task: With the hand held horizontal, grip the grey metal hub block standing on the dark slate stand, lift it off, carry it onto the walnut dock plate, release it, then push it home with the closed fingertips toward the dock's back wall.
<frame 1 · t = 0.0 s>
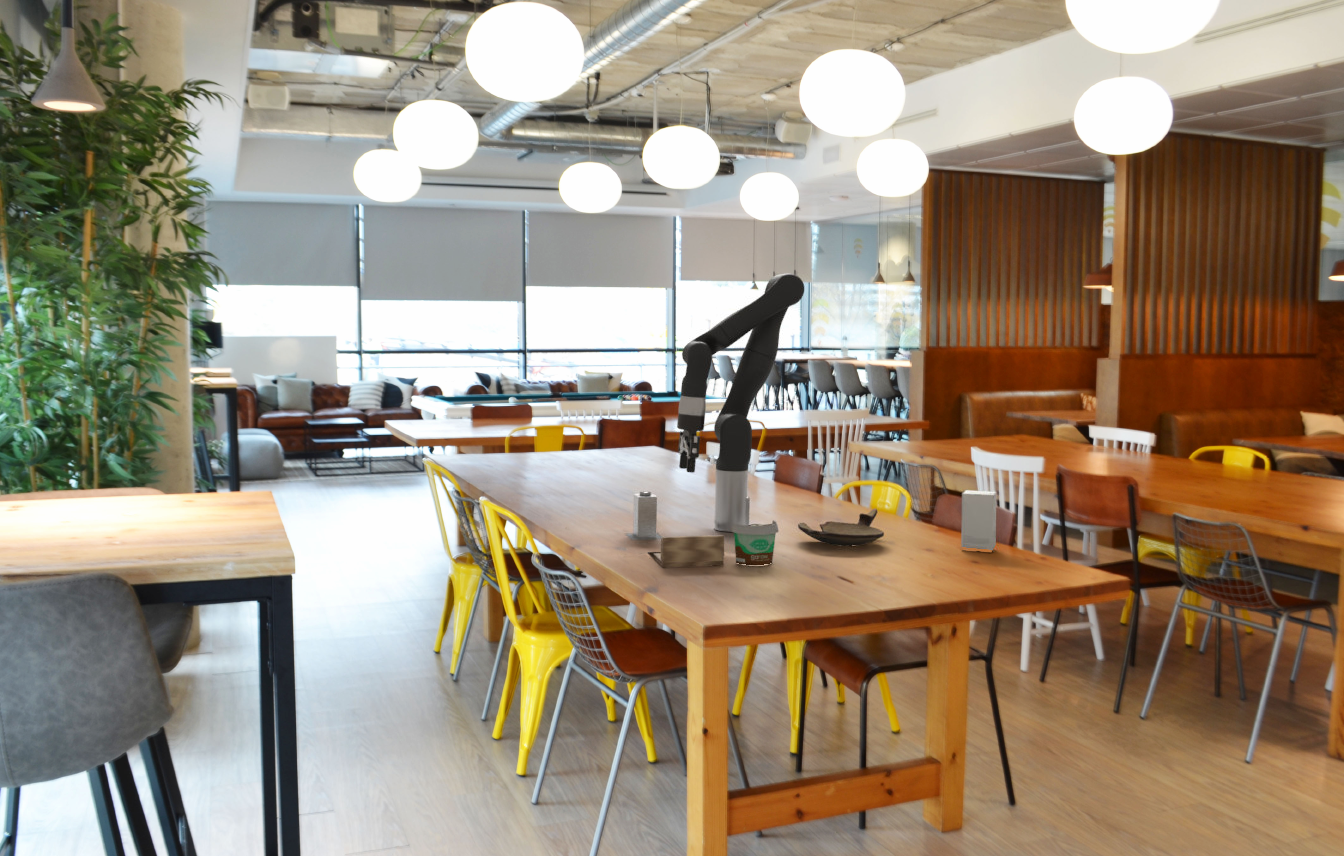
hand: (686, 470, 294), 17 cm above the table, tool pointing down, fingers open, 8 cm apart
food container: (759, 565, 254), on the table
skincare box: (977, 551, 276), on the table
stand: (644, 541, 279), on the table
hub block: (644, 536, 279), point 1 cm above the table, touching stand
dock: (683, 558, 260), on the table
oil lamp: (848, 544, 282), on the table
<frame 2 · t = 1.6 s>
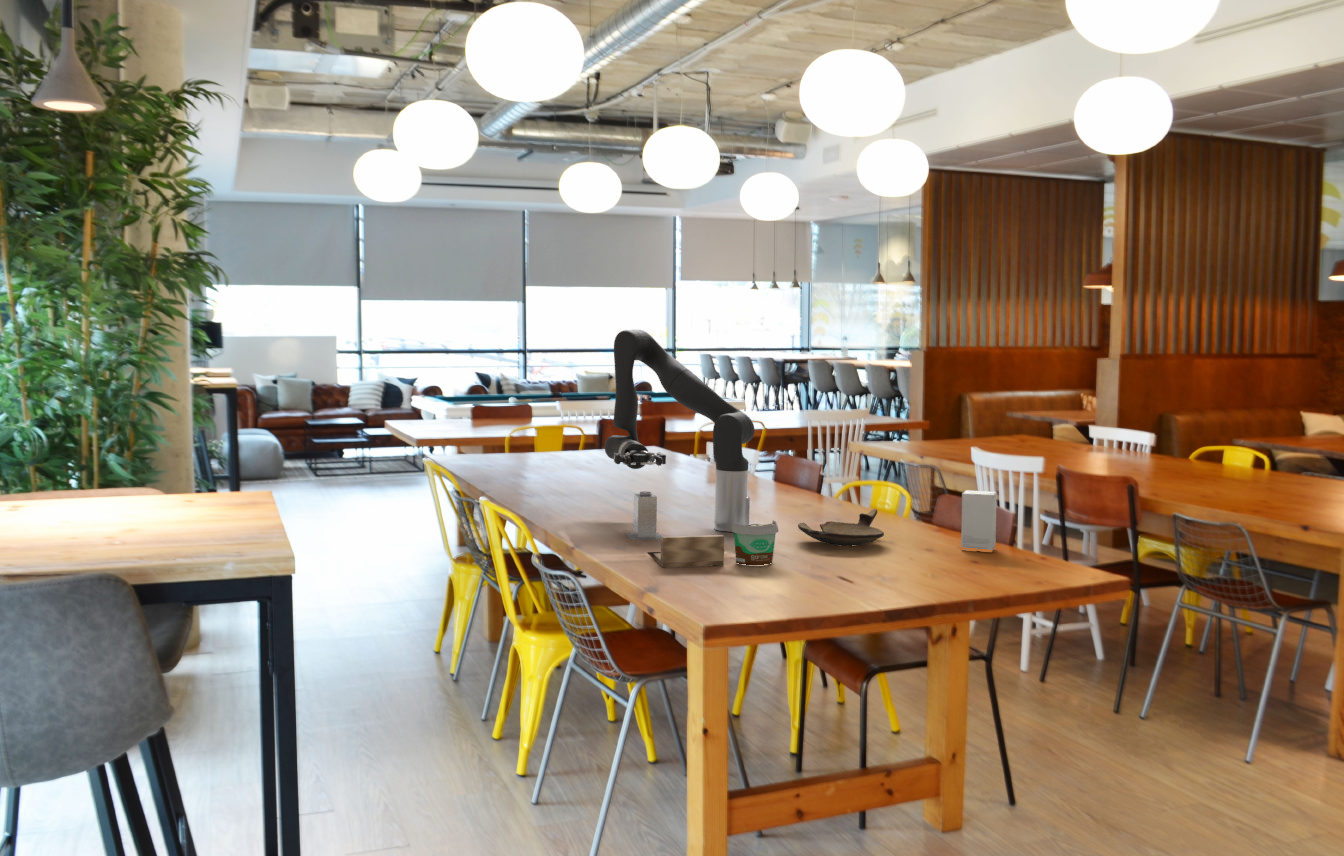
hand: (644, 461, 288), 20 cm above the table, tool horizontal, fingers open, 8 cm apart
nothing on the table moved.
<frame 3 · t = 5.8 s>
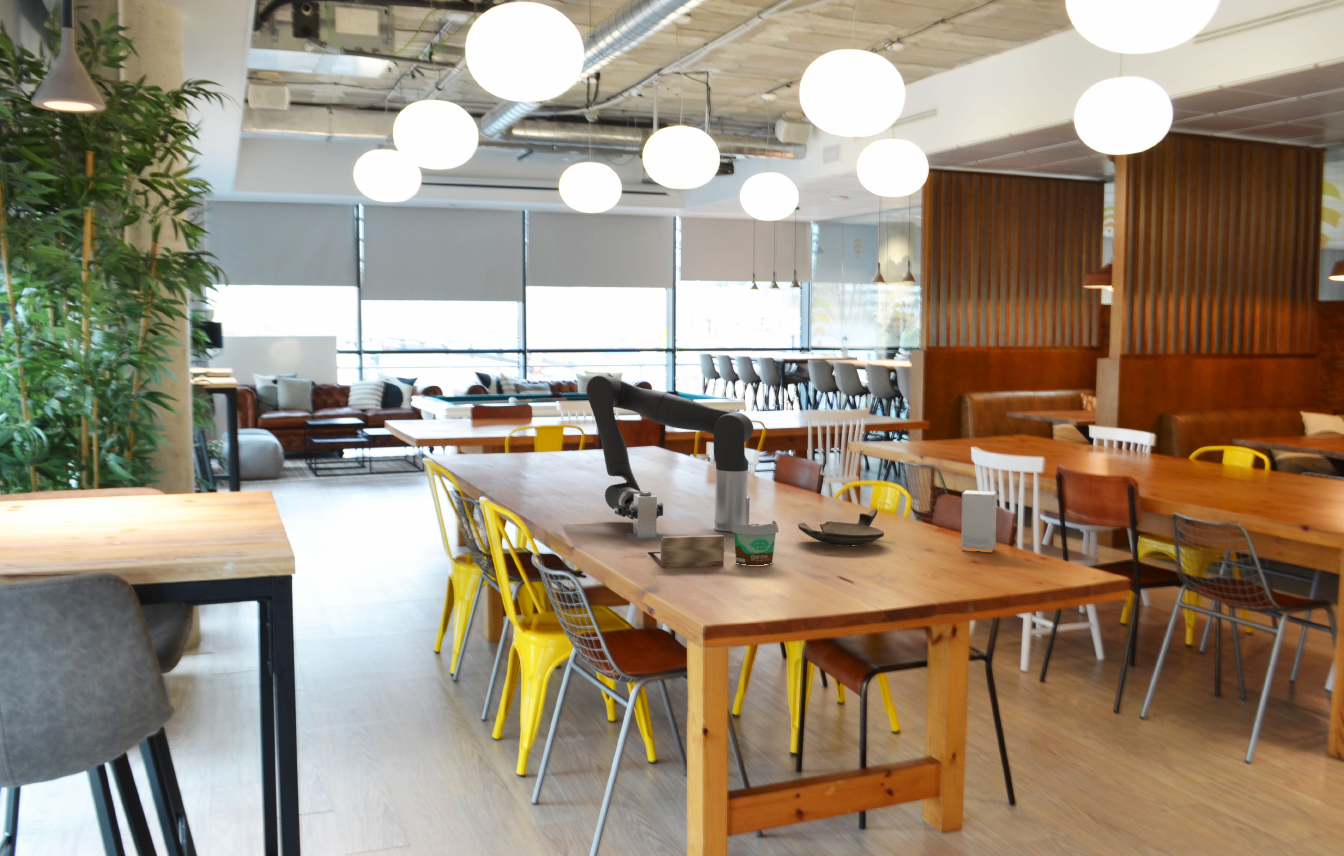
hand: (646, 514, 277), 8 cm above the table, tool horizontal, fingers closed on hub block, 5 cm apart
hub block: (644, 536, 279), point 1 cm above the table, touching gripper, stand
everything else where it was.
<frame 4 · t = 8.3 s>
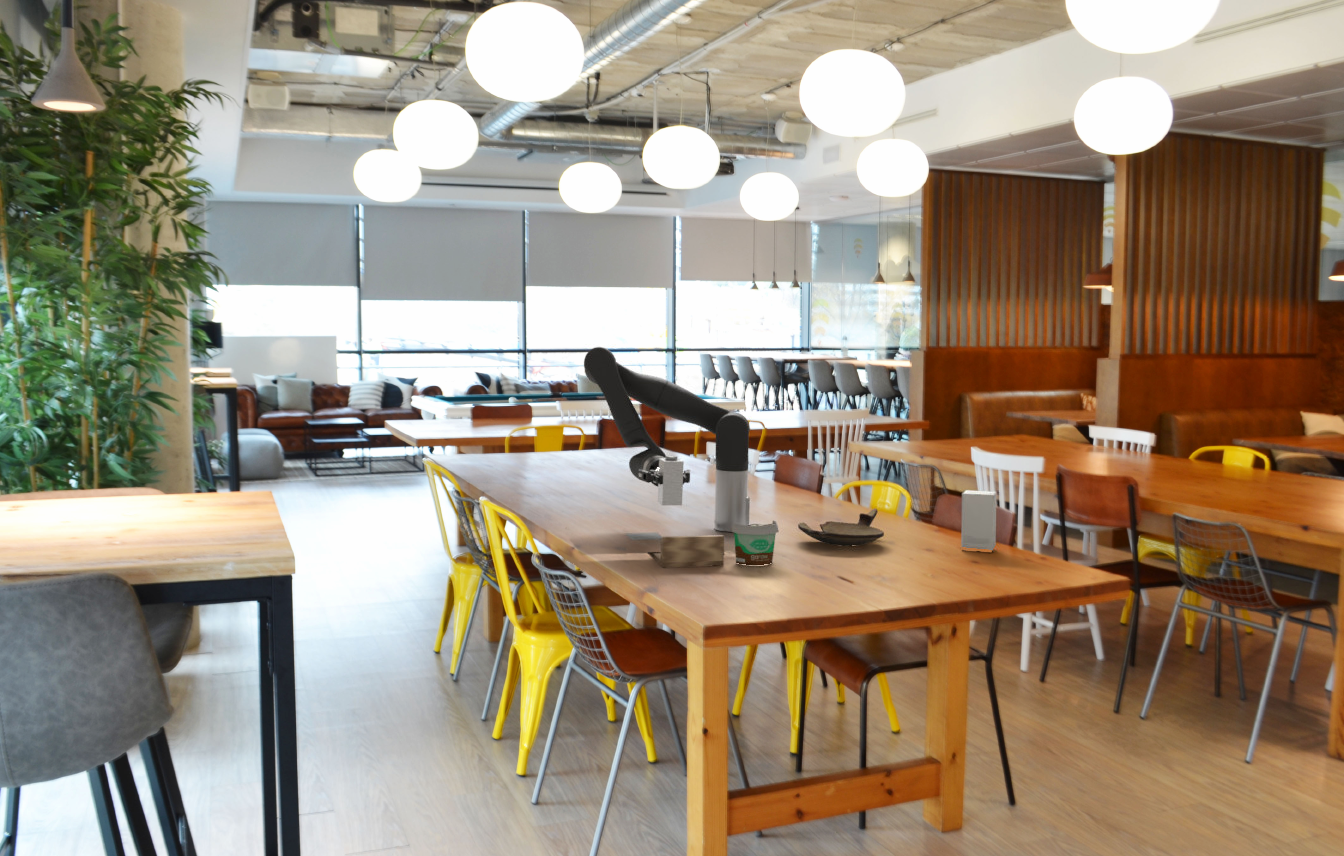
hand: (672, 480, 261), 19 cm above the table, tool horizontal, fingers closed on hub block, 5 cm apart
hub block: (669, 503, 263), point 13 cm above the table, touching gripper
everything else where it was.
when the fingers open (8 cm above the table, at t = 11.2 s): hub block drops 1 cm, resting on dock.
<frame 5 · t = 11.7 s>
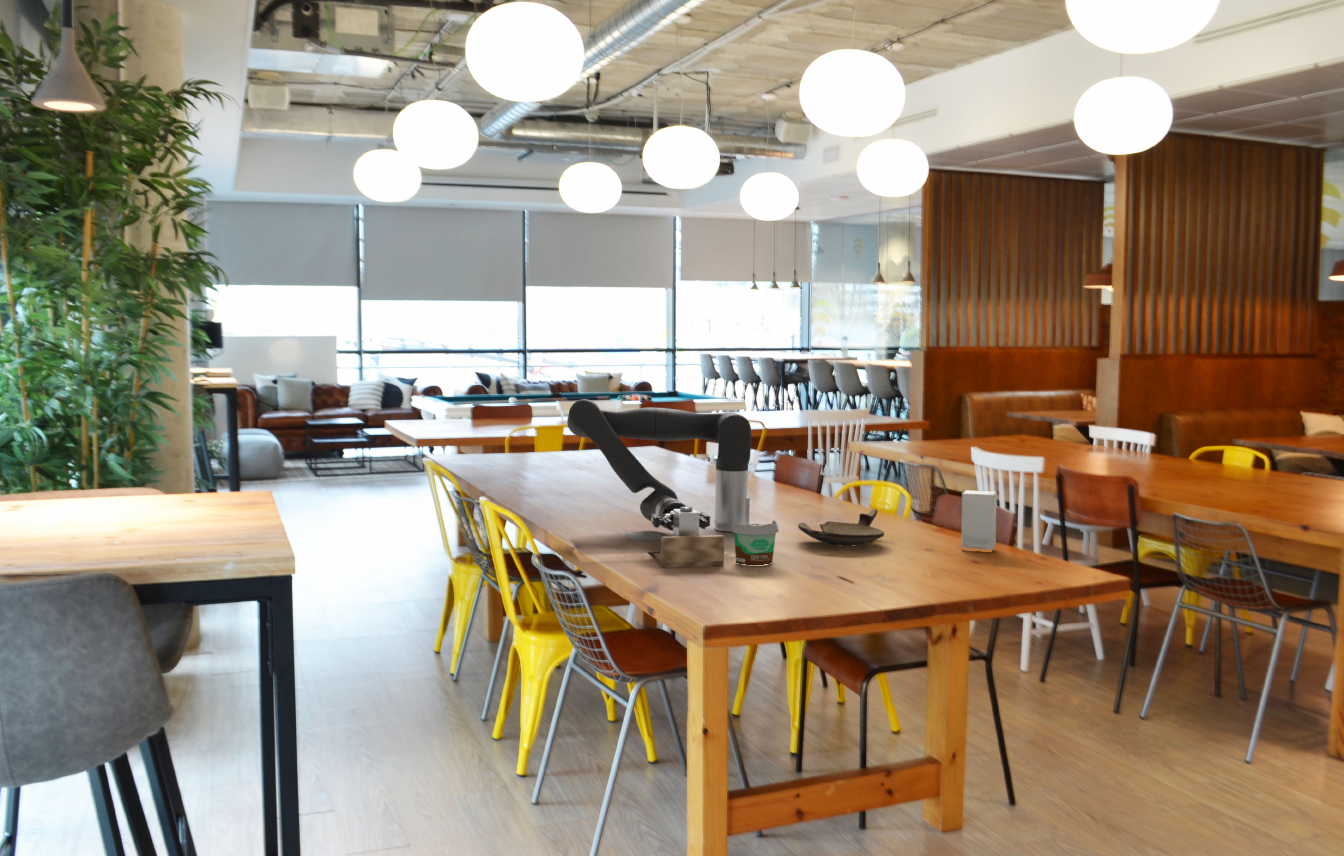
hand: (687, 525, 256), 9 cm above the table, tool horizontal, fingers open, 8 cm apart
hub block: (685, 555, 258), point 1 cm above the table, touching dock
everything else where it was.
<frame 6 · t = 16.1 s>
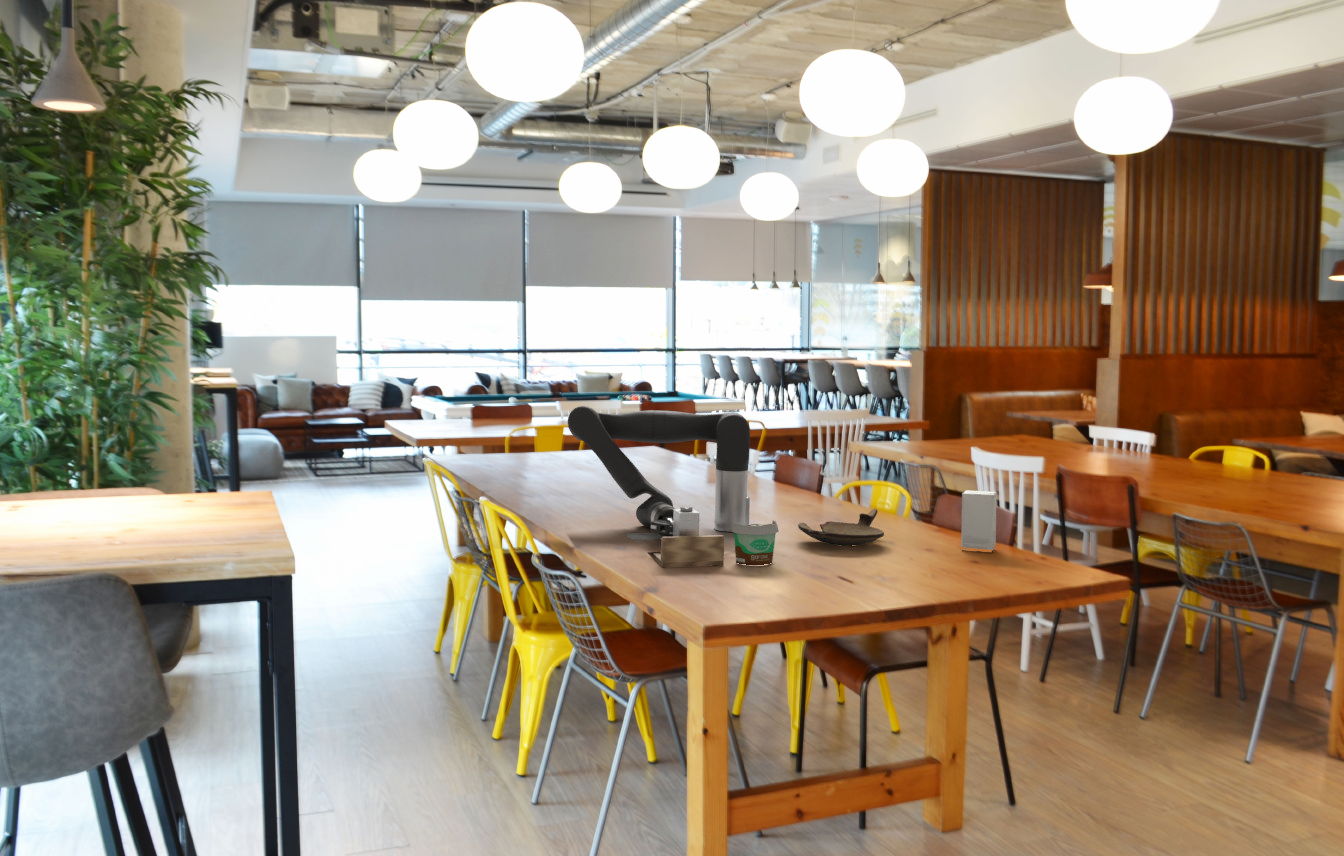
hand: (682, 532, 260), 6 cm above the table, tool horizontal, fingers closed
hub block: (685, 555, 258), point 1 cm above the table, touching gripper
everything else where it was.
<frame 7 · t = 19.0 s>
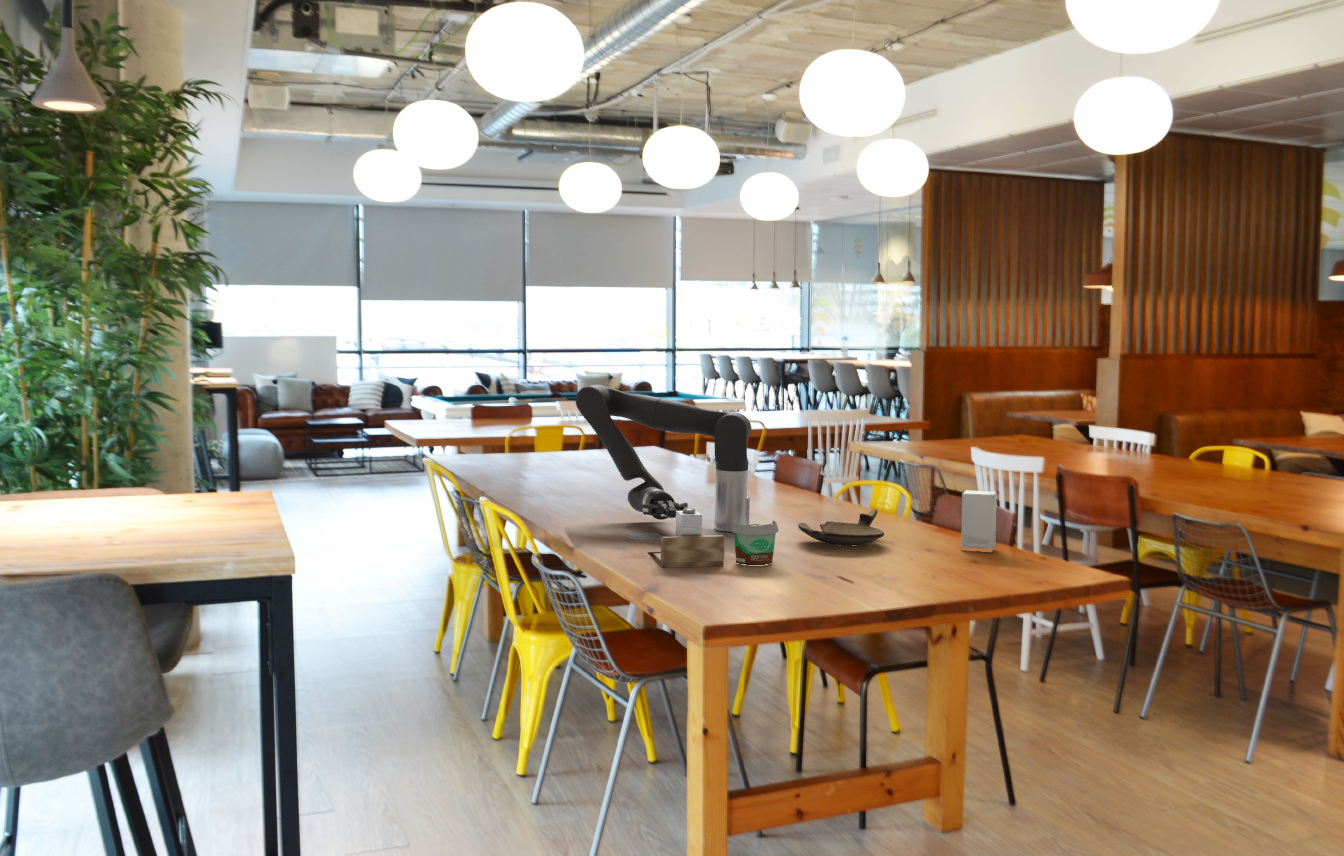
hand: (673, 514, 272), 9 cm above the table, tool horizontal, fingers closed
hub block: (688, 557, 255), point 1 cm above the table, touching dock
everything else where it was.
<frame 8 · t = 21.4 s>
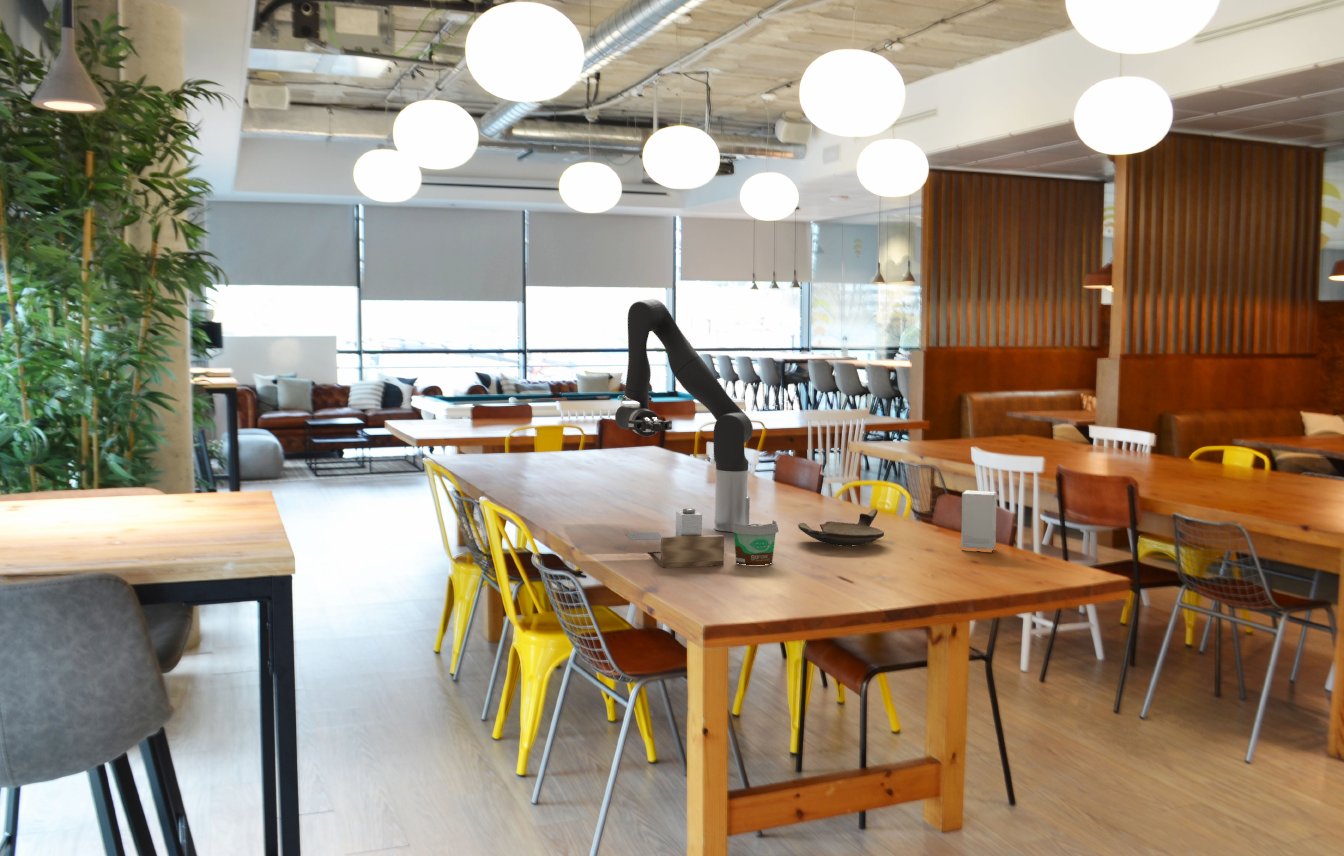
hand: (657, 427, 282), 30 cm above the table, tool horizontal, fingers closed
nothing on the table moved.
at the end: hub block inside the target area on the dock (2.3 cm from its centre), point 1.2 cm above the dock's base; hub block tilted 0°; the gripper is holding nothing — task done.
